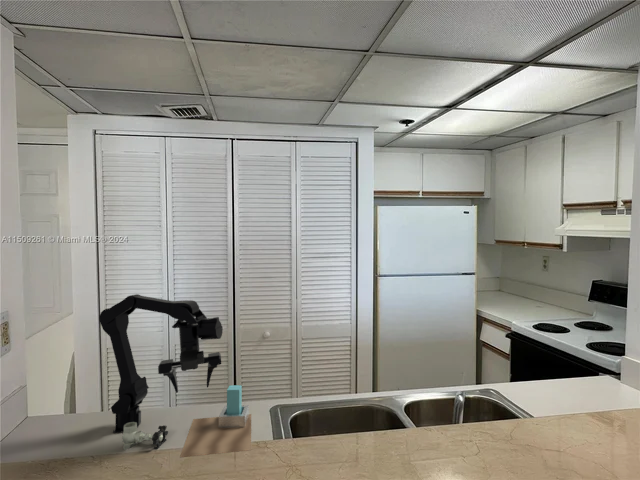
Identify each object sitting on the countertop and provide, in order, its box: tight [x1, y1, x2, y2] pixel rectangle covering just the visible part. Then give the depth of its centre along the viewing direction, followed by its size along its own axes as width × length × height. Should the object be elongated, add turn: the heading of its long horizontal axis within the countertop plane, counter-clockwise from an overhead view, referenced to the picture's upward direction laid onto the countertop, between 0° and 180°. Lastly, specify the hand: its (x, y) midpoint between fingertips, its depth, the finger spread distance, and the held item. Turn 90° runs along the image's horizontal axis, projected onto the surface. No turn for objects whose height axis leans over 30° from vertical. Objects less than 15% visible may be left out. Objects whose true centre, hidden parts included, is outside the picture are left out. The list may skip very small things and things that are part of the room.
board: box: [179, 413, 252, 458], centre depth 112 cm, size 19×23×1 cm
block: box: [226, 384, 243, 415], centre depth 120 cm, size 4×4×11 cm
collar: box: [218, 404, 250, 428], centre depth 120 cm, size 8×8×4 cm
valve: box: [121, 422, 169, 451], centre depth 106 cm, size 7×7×12 cm
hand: (192, 389), depth 117 cm, fingers open, 9 cm apart
